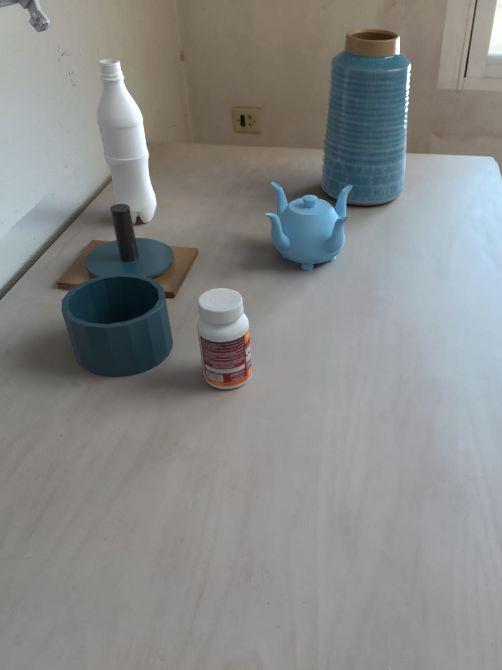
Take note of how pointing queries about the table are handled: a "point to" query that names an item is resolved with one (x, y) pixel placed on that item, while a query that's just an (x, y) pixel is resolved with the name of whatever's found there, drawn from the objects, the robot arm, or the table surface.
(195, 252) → the mat
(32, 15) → the robot arm
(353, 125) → the vase
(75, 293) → the pot
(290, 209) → the teapot
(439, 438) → the table surface
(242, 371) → the pill bottle
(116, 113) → the water bottle
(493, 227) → the table surface
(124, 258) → the lid
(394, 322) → the table surface
